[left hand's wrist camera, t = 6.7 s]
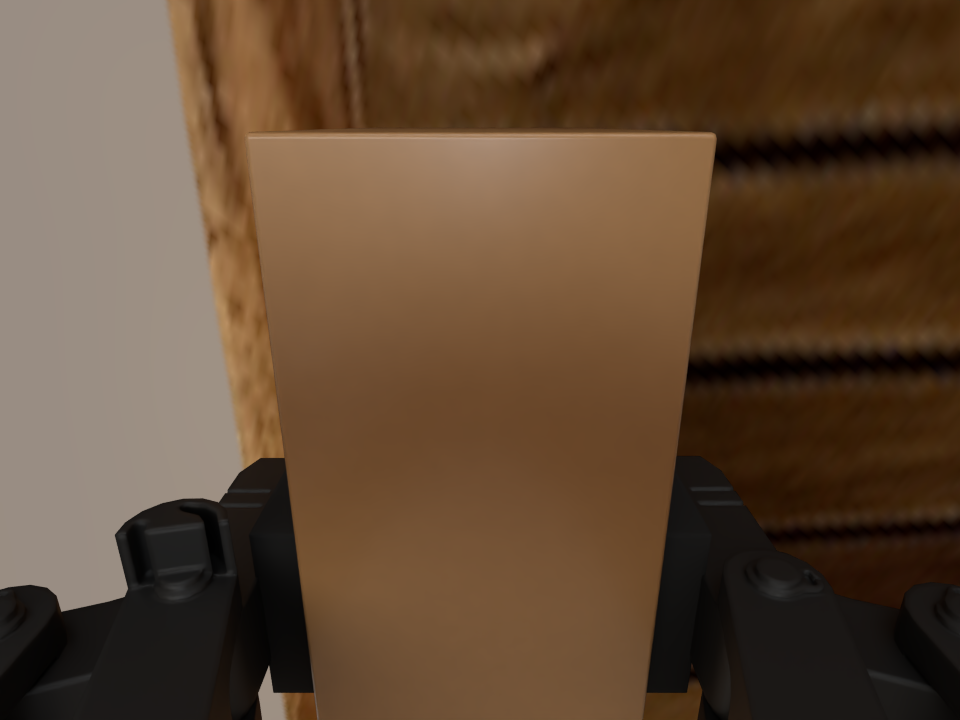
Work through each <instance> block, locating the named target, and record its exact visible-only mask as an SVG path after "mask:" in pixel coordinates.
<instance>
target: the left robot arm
mask: <svg viewBox="0 0 960 720" xmlns="http://www.w3.org/2000/svg"><path fill="white" fill-rule="evenodd" d="M115 538H116V542H117V546H118V550H119V554H120V558H121V562H122V566H123V570H124V574H125V578H126V582H127V586H128V590H127V593H126V595H125V597H123V598H120V599H116V600H113V601H109V602H105V603H100V604H96V605H91V606H87V607H82V608H78V609H73V610H68V611H63V612H61V609H60V606H59V603H58V599H57V596H56V595H55V594H54V593H53V592H51V591H50V590H49V589H48V588H45V587H39V586H34V585H26V586H16V587H8V588H5V589H1V590H0V720H262V716H261V709H260V702H259V696H258V692H259V689H260V687H261V684H262V682H263V679H264V677H265V674H266V671H267V669H268V666H269V667H270V673H271V679H272V686H273V692H274V693H314V687H313V679H312V671H311V663H310V655H309V647H308V639H307V631H306V623H305V615H304V607H303V599H302V591H301V583H300V575H299V567H298V559H297V551H296V544H295V536H294V528H293V520H292V512H291V504H290V496H289V488H288V480H287V472H286V464H285V458H260V459H259V460H257V461H256V462H254V463H253V464H251V465H250V466H249V467H247V468H246V469H244V470H243V471H241V472H240V473H239V474H238V476H237V477H236V479H235V480H234V481H233V483H232V484H231V486H230V487H229V489H228V493H225V495H224V496H223V497H222V499H221V500H220V502H219V503H218V502H215V501H211V500H207V499H203V498H201V499H180V500H175V501H171V502H166V503H162V504H159V505H157V506H154V507H152V508H149V509H147V510H144V511H142V512H140V513H139V514H137V515H136V516H134V517H133V518H131V519H130V520H128V521H127V522H125V523H124V525H123V526H122V527H121V528H120V529H119V530H118V532H117V533H116V534H115ZM691 663H692V665H693V667H694V670H695V672H696V675H697V677H698V680H699V682H700V685H701V688H702V696H701V702H700V708H699V714H698V720H960V587H959V586H956V585H951V584H942V583H933V582H929V583H924V584H918V585H914V586H913V587H911V588H910V589H909V590H908V591H907V592H906V593H905V595H904V598H903V601H902V605H901V608H900V609H896V608H891V607H887V606H882V605H877V604H873V603H868V602H863V601H859V600H854V599H850V598H847V597H843V596H840V595H836V594H834V592H833V589H832V587H831V586H830V585H829V583H828V582H827V580H826V579H825V578H824V576H823V575H822V574H821V573H820V572H818V571H817V570H816V569H814V568H813V567H812V566H810V565H809V564H808V563H806V562H804V561H802V560H800V559H798V558H796V557H793V556H791V555H789V554H787V553H783V552H778V551H777V550H776V549H775V547H774V546H773V544H772V543H771V542H770V540H769V539H768V537H767V536H766V534H765V533H764V531H763V530H762V529H761V527H760V526H759V524H758V523H757V521H756V520H755V519H754V517H753V516H752V514H751V513H750V511H749V510H748V508H747V507H746V506H743V501H742V500H741V498H740V497H739V495H738V494H737V493H736V491H733V487H732V485H731V484H730V482H729V481H728V480H727V478H726V477H725V475H724V474H723V472H722V471H721V470H720V469H718V468H717V467H715V466H714V465H712V464H711V463H709V462H708V461H706V460H705V459H703V458H702V457H701V456H676V463H675V471H674V479H673V487H672V495H671V503H670V510H669V518H668V526H667V534H666V542H665V550H664V558H663V565H662V573H661V581H660V589H659V597H658V605H657V613H656V621H655V628H654V636H653V644H652V652H651V660H650V668H649V676H648V684H647V691H646V693H687V689H688V682H689V676H690V670H691Z"/></svg>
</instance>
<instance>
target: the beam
mask: <svg viewBox="0 0 960 720" xmlns="http://www.w3.org/2000/svg"><path fill="white" fill-rule="evenodd" d="M716 140H717V138H716V134H714V133H712V132H691V131H661V130H632V129H603V128H355V129H325V130H295V131H266V132H249V133H247V134H246V135H245V145H246V153H247V161H248V169H249V177H250V185H251V193H252V201H253V209H254V217H255V225H256V233H257V241H258V249H259V257H260V265H261V273H262V281H263V289H264V297H265V305H266V313H267V320H268V328H269V336H270V344H271V352H272V360H273V368H274V376H275V384H276V392H277V400H278V408H279V416H280V424H281V432H282V440H283V448H284V456H285V464H286V472H287V480H288V488H289V496H290V504H291V512H292V520H293V528H294V536H295V544H296V551H297V559H298V567H299V575H300V583H301V591H302V599H303V607H304V615H305V623H306V631H307V639H308V647H309V655H310V663H311V671H312V679H313V687H314V695H315V703H316V711H317V719H318V720H643V715H644V707H645V699H646V691H647V684H648V676H649V668H650V660H651V652H652V644H653V636H654V628H655V621H656V613H657V605H658V597H659V589H660V581H661V573H662V565H663V558H664V550H665V542H666V534H667V526H668V518H669V510H670V503H671V495H672V487H673V479H674V471H675V463H676V455H677V447H678V440H679V432H680V424H681V416H682V408H683V400H684V392H685V384H686V377H687V369H688V361H689V353H690V345H691V337H692V329H693V321H694V314H695V306H696V298H697V290H698V282H699V274H700V266H701V258H702V251H703V243H704V235H705V227H706V219H707V211H708V203H709V195H710V188H711V180H712V172H713V164H714V156H715V148H716Z"/></svg>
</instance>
